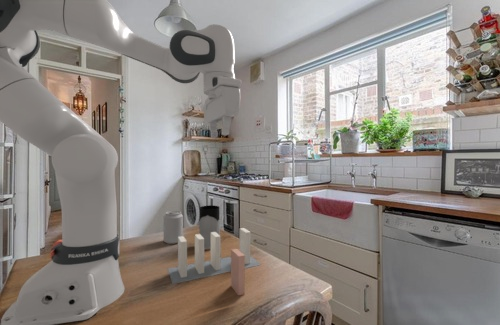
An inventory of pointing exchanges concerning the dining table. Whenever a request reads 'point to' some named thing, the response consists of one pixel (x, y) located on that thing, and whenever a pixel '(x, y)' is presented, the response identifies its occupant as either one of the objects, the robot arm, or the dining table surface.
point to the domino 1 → (182, 256)
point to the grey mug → (209, 223)
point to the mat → (206, 270)
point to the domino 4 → (238, 271)
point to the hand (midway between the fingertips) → (219, 136)
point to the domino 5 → (245, 244)
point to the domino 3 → (215, 251)
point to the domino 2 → (199, 253)
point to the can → (173, 226)
